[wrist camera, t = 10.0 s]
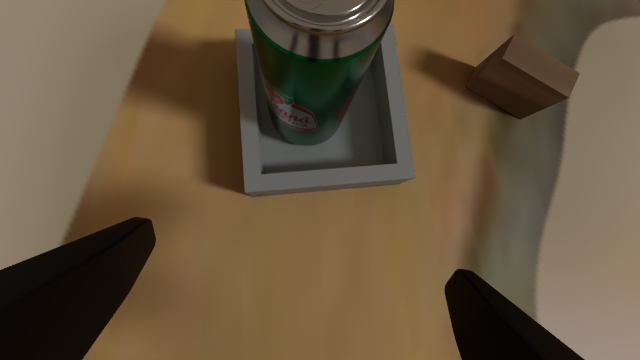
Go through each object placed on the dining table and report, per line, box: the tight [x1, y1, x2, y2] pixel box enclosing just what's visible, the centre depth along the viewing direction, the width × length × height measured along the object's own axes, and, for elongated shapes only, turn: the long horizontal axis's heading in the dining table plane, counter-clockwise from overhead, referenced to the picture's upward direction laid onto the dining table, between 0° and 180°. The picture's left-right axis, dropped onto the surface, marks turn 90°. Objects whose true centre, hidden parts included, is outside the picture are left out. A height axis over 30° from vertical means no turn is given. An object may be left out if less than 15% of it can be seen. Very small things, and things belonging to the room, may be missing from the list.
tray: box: [235, 25, 415, 197], centre depth 19 cm, size 10×10×3 cm
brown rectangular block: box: [466, 35, 579, 119], centre depth 21 cm, size 2×5×4 cm, turn 59°
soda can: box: [244, 0, 394, 146], centre depth 14 cm, size 5×5×12 cm
